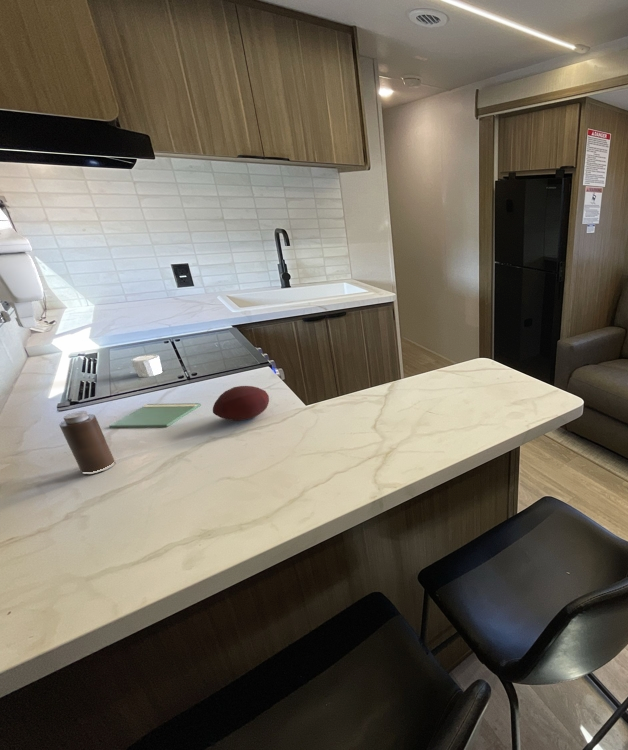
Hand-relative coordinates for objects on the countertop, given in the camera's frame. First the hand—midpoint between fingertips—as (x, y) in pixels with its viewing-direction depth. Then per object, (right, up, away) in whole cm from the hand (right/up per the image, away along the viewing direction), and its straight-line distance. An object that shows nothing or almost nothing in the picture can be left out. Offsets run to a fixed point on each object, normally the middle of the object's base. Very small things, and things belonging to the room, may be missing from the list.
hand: (15, 324), depth 70 cm
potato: (+20, -20, +32) cm, 43 cm away
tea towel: (-4, -19, +33) cm, 39 cm away
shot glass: (-26, -10, +58) cm, 64 cm away
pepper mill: (+2, -28, +12) cm, 30 cm away
